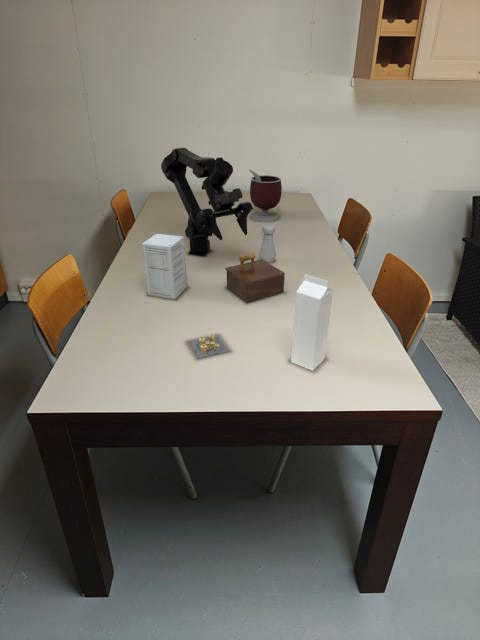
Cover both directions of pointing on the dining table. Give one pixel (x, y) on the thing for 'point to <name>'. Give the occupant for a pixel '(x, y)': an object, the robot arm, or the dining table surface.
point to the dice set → (207, 346)
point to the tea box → (255, 288)
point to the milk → (311, 322)
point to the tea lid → (253, 270)
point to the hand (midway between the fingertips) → (234, 237)
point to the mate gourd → (265, 195)
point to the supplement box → (165, 265)
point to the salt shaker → (268, 244)
